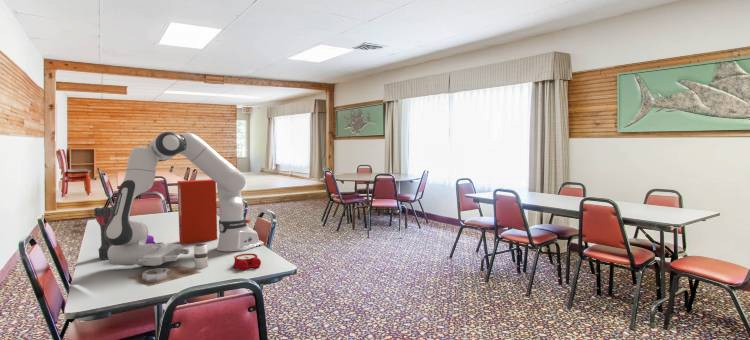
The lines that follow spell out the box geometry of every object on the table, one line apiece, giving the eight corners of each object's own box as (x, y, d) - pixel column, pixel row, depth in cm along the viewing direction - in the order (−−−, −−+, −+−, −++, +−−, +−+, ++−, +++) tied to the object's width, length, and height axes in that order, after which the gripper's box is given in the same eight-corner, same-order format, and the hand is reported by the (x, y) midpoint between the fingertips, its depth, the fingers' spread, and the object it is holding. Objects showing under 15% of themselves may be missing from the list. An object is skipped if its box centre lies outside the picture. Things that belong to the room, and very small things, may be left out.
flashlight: (103, 255, 194) (101, 206, 193) (120, 255, 194) (117, 206, 193) (91, 259, 187) (89, 208, 185) (108, 259, 186) (106, 208, 185)
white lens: (203, 266, 175) (202, 242, 174) (210, 268, 172) (209, 244, 171) (192, 269, 171) (191, 245, 170) (198, 271, 168) (197, 247, 167)
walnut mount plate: (179, 267, 174) (179, 264, 174) (201, 274, 164) (201, 272, 164) (127, 279, 159) (127, 277, 158) (148, 288, 148) (148, 286, 148)
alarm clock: (254, 252, 185) (263, 252, 172) (255, 266, 184) (265, 267, 171) (229, 255, 179) (237, 255, 166) (230, 270, 178) (239, 271, 166)
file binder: (217, 239, 224) (215, 180, 222) (182, 244, 214) (180, 182, 212) (213, 237, 231) (211, 179, 229) (179, 241, 221) (177, 181, 219)
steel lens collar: (162, 273, 163) (162, 266, 163) (173, 277, 158) (173, 270, 158) (139, 278, 156) (138, 272, 156) (150, 283, 151) (149, 276, 151)
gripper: (134, 253, 161) (169, 253, 161) (162, 241, 182) (194, 241, 181) (134, 269, 162) (169, 270, 161) (163, 255, 182) (194, 255, 182)
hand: (182, 254), depth 171 cm, fingers open, 8 cm apart
